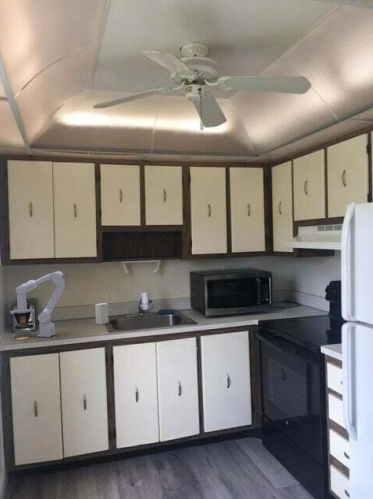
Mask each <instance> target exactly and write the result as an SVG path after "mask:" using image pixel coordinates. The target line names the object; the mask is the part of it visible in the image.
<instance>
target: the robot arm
mask: <svg viewBox="0 0 373 499" xmlns="http://www.w3.org/2000/svg"><path fill="white" fill-rule="evenodd" d="M65 277H66V276H65V274H64V273H63V272H62V271H60V270H58V271H57V270H56V271H54V272H51V273H48V274H46V275H44V276H41V277H40V278H38V279H36V280H35V279H30V280H29V279H28V281H27V282H25V283H22V284H21V285H18V286H17V287H16V288H15V293H16V299H17V301H16V302H17V309H14V310H10V315H13V316H14V318H15V319H16V323H17V325H19V317H20V316H19V315H20V314H26V317H27V325H28V324H29V319H30V316H31V313H35V309H34V308H29V309H28V306H27V305H28V304H27V303H28V302H27V292H30V291H32V290H34V289H36V288H37V287H38V285H40V284H42V283H44V282H46V281H47V282H48V281H52V282H53V283H54V285H55V289H54V291H53V292H52V295H51V296H50V299H49V300H48V302H47V304H46V306H45V308H44V309H43V310H42V312H41V313H39V315H38V316H37V319H38V322H39V324H38V326H39V334H38V335H36V337H43V338H44V337H45V338H50V337H52V336H55V335H56V334H57V333H56V325H55V323H54V322H52V321H51V317H52V313H53V310H54V309H55V306H56V304H57V303H58V300H59V299H60V297H61V296H62V293H63V291H64V290H65V287H66V282H65V281H66V280H65V279H66V278H65Z"/></svg>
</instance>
